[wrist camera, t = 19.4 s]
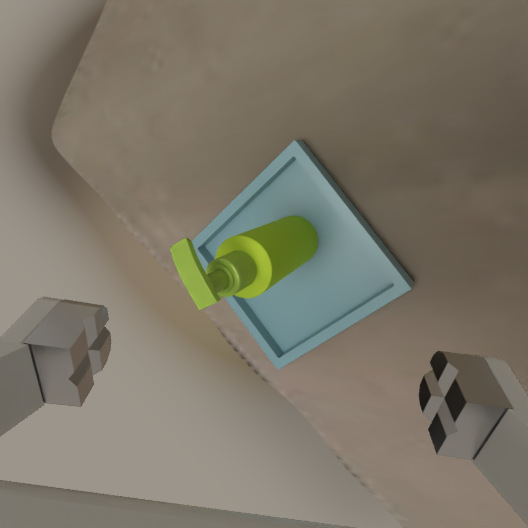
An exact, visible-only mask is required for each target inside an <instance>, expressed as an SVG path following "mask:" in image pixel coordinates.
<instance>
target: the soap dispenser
mask: <svg viewBox="0 0 528 528" xmlns="http://www.w3.org/2000/svg"><path fill="white" fill-rule="evenodd" d="M317 246H318V237H317V233H316V230H315V228H314V227H313V225H312V224H311V223H310V222H309V221H308V220H306V219H304V218H302V217H300V216H287V217H284V218H282V219H279V220H276V221H273V222H271V223H268V224H265V225H262V226H260V227H257V228H254V229H251V230H249V231H246V232H243V233H241V234H238V235H235V236H232V237H230V238H228V239H226V240H225V241H224V242H223V243H222V244H221V245H220V246H219V248H218V250H217V253H216V256H215V259H214V260H213V261H211V262H210V263H209V264H208V266H207V268H206V272H205V270H204V269H203V267H202V265H201V263H200V261H199V259H198V257H197V254H196V252H195V249H194V246H193V244H192V241H191V240H189V239H188V238H184V239H183V240H181V241H179V242H178V243H176V244H174V245H173V246H171V247H170V250H171V254H172V257H173V260H174V263H175V266H176V268H177V271H178V273H179V275H180V277H181V279H182V281H183V283H184V285H185V287H186V289H187V290H188V292H189V294H190V295H191V297H192V299H193V300H194V302H195V304H196V305H197V307H198V309H199V310H201V309H203V308H206V307H208V306H210V305H212V304H214V303H216V302H218V301H220V300H221V299H220V297H231V296H233V295H235V296H238V297H241V298H254V297H257V296H259V295H261V294H262V293H264V292H265V291H266V290H268V289H269V288H271V287H272V286H273V285H275V284H276V283H278V282H279V281H280V280H282V279H283V278H285V277H286V276H287V275H289V274H290V273H291V272H293V271H294V270H296V269H297V268H298V267H300V266H301V265H303V264H304V263H305V262H307V261H308V260H310V259H311V258H312V257H313V255H314V254H315V252H316V250H317ZM219 296H220V297H219Z"/></svg>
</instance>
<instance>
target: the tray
mask: <svg viewBox="0 0 528 528" xmlns="http://www.w3.org/2000/svg"><path fill="white" fill-rule="evenodd" d="M287 216H300V217H302V218H304V219H306V220H308V221H309V222H310V223H311V224H312V225H313V227H314V228H315V230H316V233H317V237H318V246H317V250H316V252H315V254H314V255H313V257H312V258H311V259H310V260H308V261H307V262H305V263H304V264H303V265H301V266H300V267H298V268H297V269H296V270H294V271H293V272H291V273H290V274H289V275H287V276H286V277H285V278H283V279H282V280H280V281H279V282H278V283H276V284H275V285H273V286H272V287H271V288H269V289H268V290H266V291H265V292H264V293H262V294H261V295H259V296H257V297H254V298H241V297H238V296H235V295H233V296H231V297H224V298H225V299H226V301H227V302H228V303H229V305H230V306H231V308H232V309H233V310H234V312H235V313H236V314H237V316H238V317H239V318H240V320H241V321H242V322H243V324H244V325H245V327H246V328H247V329H248V331H249V332H250V333H251V335H252V336H253V337H254V339H255V340H256V341H257V343H258V344H259V345H260V347H261V348H262V350H263V351H264V352H265V354H266V355H267V356H268V358H269V359H270V360H271V362H272V363H273V364H274V366H275V367H276V369H277V370H279V369H280V368H282V367H284V366H285V365H287V364H289V363H290V362H292V361H293V360H295V359H297V358H298V357H300V356H302V355H303V354H305V353H307V352H308V351H310V350H312V349H313V348H315V347H317V346H318V345H320V344H322V343H323V342H325V341H326V340H328V339H330V338H331V337H333V336H335V335H336V334H338V333H340V332H341V331H343V330H345V329H346V328H348V327H350V326H351V325H353V324H355V323H356V322H358V321H359V320H361V319H363V318H364V317H366V316H368V315H369V314H371V313H373V312H374V311H376V310H378V309H379V308H381V307H383V306H384V305H386V304H388V303H389V302H391V301H392V300H394V299H396V298H397V297H399V296H401V295H402V294H404V293H406V292H407V291H409V290H411V289H412V286H413V283H414V282H413V281H412V279H411V278H410V277H409V275H408V274H407V273H406V272H405V270H404V269H403V268H402V267H401V265H400V264H399V263H398V261H397V260H396V259H395V258H394V256H393V255H392V254H391V252H390V251H389V250H388V249H387V247H386V246H385V245H384V244H383V242H382V241H381V240H380V238H379V237H378V236H377V235H376V233H375V232H374V231H373V230H372V228H371V227H370V226H369V224H368V223H367V222H366V221H365V219H364V218H363V217H362V215H361V214H360V213H359V212H358V210H357V209H356V208H355V207H354V205H353V204H352V203H351V201H350V200H349V199H348V198H347V196H346V195H345V194H344V192H343V191H342V190H341V189H340V187H339V186H338V185H337V184H336V182H335V181H334V180H333V178H332V177H331V176H330V175H329V173H328V172H327V171H326V170H325V168H324V167H323V166H322V164H321V163H320V162H319V161H318V159H317V158H316V157H315V155H314V154H313V153H312V152H311V150H310V149H309V148H308V147H307V145H306V144H305V143H304V141H303V140H294V141H293V142H292V143H291V144H290V145H289V146H288V147H287V148H286V149H285V150H284V151H283V152H282V153H281V154H280V155H279V156H278V157H277V158H276V159H275V160H274V161H273V162H272V163H271V164H270V165H269V166H268V167H267V168H266V169H265V170H264V171H263V172H262V173H261V174H260V175H259V176H258V177H257V178H256V179H255V180H254V181H253V182H252V183H250V184H249V185H248V186H247V187H246V188H245V189H244V190H243V191H242V192H241V193H240V194H239V195H238V196H237V197H236V198H235V199H234V200H233V201H232V202H231V203H230V204H229V205H228V206H227V207H226V208H225V209H224V210H223V211H222V212H221V213H220V214H219V215H218V216H217V217H216V218H215V219H214V220H213V221H212V222H211V223H210V224H209V225H208V226H207V227H206V228H205V229H204V230H203V231H202V232H201V233H200V234H199V235H198V236H197V237H196V238H195V239H194V240H193V241H192V244H193V246H194V249H195V252H196V254H197V257H198V259H199V261H200V263H201V265H202V267H203V269H204V270H205V272H206V268H207V266H208V264H209V263H210V262H211V261H213V260H214V259H215V256H216V253H217V250H218V248H219V246H220V245H221V244H222V243H223V242H224V241H225V240H226V239H228V238H230V237H232V236H235V235H238V234H241V233H243V232H246V231H249V230H251V229H254V228H257V227H260V226H262V225H265V224H268V223H271V222H273V221H276V220H279V219H282V218H284V217H287Z"/></svg>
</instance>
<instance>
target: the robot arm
mask: <svg viewBox="0 0 528 528" xmlns="http://www.w3.org/2000/svg"><path fill="white" fill-rule="evenodd" d="M108 319H109V318H108V311H107V308H106V307H105V306H103V305H97V304H90V303H83V302H77V301H71V300H62V299H56V298H50V297H42V298H39V299H37V300H36V301H35V302H34V303H33V304H32V305H31V306H30V307H29V308H28V309H27V311H26V312H25V313H24V314H23V315H22V316H21V317H20V318H19V319H18V320H17V321H16V322H15V323H14V324H13V325H12V326H11V327H10V328H9V329H8V330H7V331H6V332H5V333H4V334H3V335H2V336H1V337H0V436H2V435H3V434H4V433H6V432H7V431H9V430H10V429H11V428H13V427H14V426H16V425H17V424H18V423H20V422H21V421H23V420H24V419H25V418H27V417H28V416H29V415H31V414H32V413H34V412H35V411H36V410H38V409H39V408H41V407H42V406H43V405H44V403H49V404H58V405H68V406H78V407H81V406H82V404H83V403H84V401H85V399H86V397H87V396H88V394H89V392H90V390H91V389H92V387H93V385H94V382H93V375H94V374H96V373H98V372H100V371H101V370H102V369H103V367H104V366H105V364H106V362H107V359H108V356H109V353H110V348H111V334H110V332H109V331H108V330H107V329H106V327H104V326H105V324H106V323H107V321H108ZM430 364H431V366H432V369H433V370H431V371H430V372H428V373H426V374H425V375H424V376H423V378H422V381H421V383H420V388H419V402H420V406H421V410H422V413H423V414H424V415H425V416H426V417H427V418H428V419H429V420H430V421H431V422H432V423H431V424H430V426H429V428H428V431H429V434H430V437H431V440H432V443H433V445H434V448H435V451H436V454H437V455H441V456H447V457H453V458H460V459H466V460H472V461H473V463H474V464H475V466H476V467H477V468H478V469H479V470H480V471H481V472H482V474H483V475H484V476H485V477H486V478H487V479H488V481H489V482H490V483H491V484H492V485H493V486H494V487H495V489H496V490H497V491H498V492H499V493H500V494H501V496H502V497H503V498H504V499H505V500H506V501H507V502H508V504H509V505H510V506H511V507H512V508H513V509H514V511H515V512H516V513H517V514H518V515H519V516H520V517H521V519H522V520H523V521H524V522H525V523H526V524H527V526H528V396H527V394H526V393H525V391H524V389H523V388H522V386H521V385H520V383H519V382H518V380H517V379H516V377H515V375H514V374H513V372H512V371H511V369H510V368H509V366H508V365H507V363H506V362H505V361H504V360H503V359H501V358H497V357H488V356H476V355H468V354H460V353H452V352H444V351H437V352H436V353H435V354H434V355H433V357H432V359H431V361H430ZM0 528H354V527H346V526H339V525H331V524H323V523H316V522H309V521H301V520H294V519H286V518H279V517H271V516H264V515H257V514H249V513H241V512H234V511H227V510H219V509H212V508H204V507H197V506H189V505H182V504H175V503H167V502H160V501H152V500H145V499H137V498H130V497H122V496H115V495H107V494H100V493H92V492H85V491H77V490H70V489H63V488H55V487H48V486H40V485H32V484H26V483H18V482H11V481H3V480H0Z"/></svg>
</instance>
